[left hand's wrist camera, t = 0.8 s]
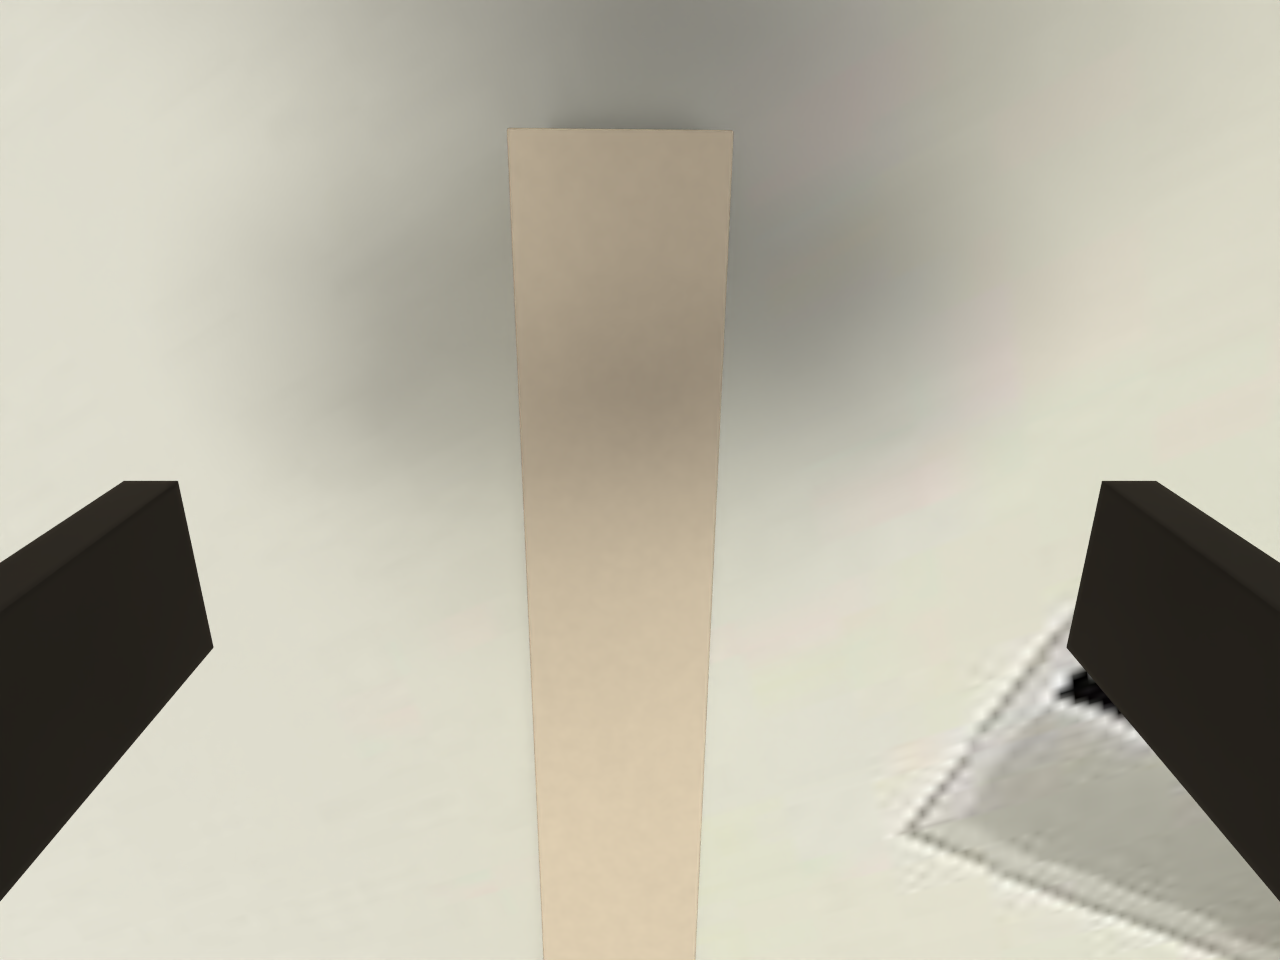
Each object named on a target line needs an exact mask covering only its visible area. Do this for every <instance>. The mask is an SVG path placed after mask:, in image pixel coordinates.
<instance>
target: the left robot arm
mask: <svg viewBox="0 0 1280 960" xmlns="http://www.w3.org/2000/svg"><path fill="white" fill-rule="evenodd" d="M212 649H213V643H212V638H211V634H210V629H209V624H208V620H207V615H206V610H205V606H204V601H203V596H202V592H201V587H200V582H199V578H198V573H197V568H196V563H195V559H194V554H193V549H192V545H191V540H190V535H189V531H188V526H187V521H186V517H185V512H184V507H183V503H182V498H181V493H180V489H179V484H178V481H123V482H122V483H120V484H119V485H117V486H116V487H114V488H113V489H111V490H110V491H108V492H107V493H105V494H103V495H102V496H100V497H99V498H97V499H96V500H94V501H93V502H91V503H90V504H88V505H87V506H85V507H84V508H82V509H81V510H79V511H78V512H76V513H75V514H73V515H72V516H70V517H69V518H67V519H66V520H64V521H63V522H61V523H60V524H58V525H57V526H55V527H54V528H52V529H51V530H49V531H48V532H46V533H45V534H43V535H41V536H40V537H38V538H37V539H35V540H34V541H32V542H31V543H29V544H28V545H26V546H25V547H23V548H22V549H20V550H19V551H17V552H16V553H14V554H13V555H11V556H10V557H8V558H7V559H5V560H4V561H2V562H1V563H0V901H1V900H2V899H3V897H4V896H5V895H6V894H7V893H8V891H9V890H10V889H11V888H12V887H13V886H14V884H15V883H16V882H17V881H18V880H19V878H20V877H21V876H22V875H23V874H24V872H25V871H26V870H27V869H28V868H29V866H30V865H31V864H32V863H33V862H34V861H35V859H36V858H37V857H38V856H39V855H40V853H41V852H42V851H43V850H44V849H45V847H46V846H47V845H48V844H49V843H50V841H51V840H52V839H53V838H54V837H55V836H56V834H57V833H58V832H59V831H60V830H61V828H62V827H63V826H64V825H65V824H66V822H67V821H68V820H69V819H70V818H71V816H72V815H73V814H74V813H75V812H76V811H77V809H78V808H79V807H80V806H81V805H82V803H83V802H84V801H85V800H86V799H87V797H88V796H89V795H90V794H91V793H92V791H93V790H94V789H95V788H96V787H97V786H98V784H99V783H100V782H101V781H102V780H103V778H104V777H105V776H106V775H107V774H108V772H109V771H110V770H111V769H112V768H113V767H114V765H115V764H116V763H117V762H118V761H119V759H120V758H121V757H122V756H123V755H124V753H125V752H126V751H127V750H128V749H129V747H130V746H131V745H132V744H133V743H134V742H135V740H136V739H137V738H138V737H139V736H140V734H141V733H142V732H143V731H144V730H145V728H146V727H147V726H148V725H149V724H150V722H151V721H152V720H153V719H154V718H155V717H156V715H157V714H158V713H159V712H160V711H161V709H162V708H163V707H164V706H165V705H166V703H167V702H168V701H169V700H170V699H171V697H172V696H173V695H174V694H175V693H176V692H177V690H178V689H179V688H180V687H181V686H182V684H183V683H184V682H185V681H186V680H187V678H188V677H189V676H190V675H191V674H192V672H193V671H194V670H195V669H196V668H197V667H198V665H199V664H200V663H201V662H202V661H203V659H204V658H205V657H206V656H207V655H208V653H209V652H210V651H211V650H212ZM1067 649H1068V650H1069V651H1070V652H1071V653H1072V655H1073V656H1074V657H1075V658H1076V659H1077V661H1078V662H1079V663H1080V664H1081V665H1082V667H1083V668H1084V669H1085V670H1086V671H1087V672H1088V674H1089V675H1090V676H1091V677H1092V678H1093V680H1094V681H1095V682H1096V683H1097V684H1098V686H1099V687H1100V688H1101V689H1102V690H1103V692H1104V693H1105V694H1106V695H1107V696H1108V697H1109V699H1110V700H1111V701H1112V702H1113V703H1114V705H1115V706H1116V707H1117V708H1118V709H1119V711H1120V712H1121V713H1122V714H1123V715H1124V717H1125V718H1126V719H1127V720H1128V721H1129V722H1130V724H1131V725H1132V726H1133V727H1134V728H1135V730H1136V731H1137V732H1138V733H1139V734H1140V736H1141V737H1142V738H1143V739H1144V740H1145V742H1146V743H1147V744H1148V745H1149V746H1150V747H1151V749H1152V750H1153V751H1154V752H1155V753H1156V755H1157V756H1158V757H1159V758H1160V759H1161V761H1162V762H1163V763H1164V764H1165V765H1166V767H1167V768H1168V769H1169V770H1170V771H1171V772H1172V774H1173V775H1174V776H1175V777H1176V778H1177V780H1178V781H1179V782H1180V783H1181V784H1182V786H1183V787H1184V788H1185V789H1186V790H1187V792H1188V793H1189V794H1190V795H1191V796H1192V797H1193V799H1194V800H1195V801H1196V802H1197V803H1198V805H1199V806H1200V807H1201V808H1202V809H1203V811H1204V812H1205V813H1206V814H1207V815H1208V816H1209V818H1210V819H1211V820H1212V821H1213V822H1214V824H1215V825H1216V826H1217V827H1218V828H1219V830H1220V831H1221V832H1222V833H1223V834H1224V836H1225V837H1226V838H1227V839H1228V840H1229V841H1230V843H1231V844H1232V845H1233V846H1234V847H1235V849H1236V850H1237V851H1238V852H1239V853H1240V855H1241V856H1242V857H1243V858H1244V859H1245V861H1246V862H1247V863H1248V864H1249V865H1250V866H1251V868H1252V869H1253V870H1254V871H1255V872H1256V874H1257V875H1258V876H1259V877H1260V878H1261V880H1262V881H1263V882H1264V883H1265V884H1266V886H1267V887H1268V888H1269V889H1270V890H1271V891H1272V893H1273V894H1274V895H1275V896H1276V897H1277V899H1278V900H1279V901H1280V563H1279V562H1278V561H1276V560H1275V559H1273V558H1272V557H1270V556H1269V555H1267V554H1266V553H1264V552H1263V551H1261V550H1260V549H1258V548H1257V547H1255V546H1254V545H1252V544H1251V543H1249V542H1248V541H1246V540H1245V539H1243V538H1242V537H1240V536H1239V535H1237V534H1235V533H1234V532H1232V531H1231V530H1229V529H1228V528H1226V527H1225V526H1223V525H1222V524H1220V523H1219V522H1217V521H1216V520H1214V519H1213V518H1211V517H1210V516H1208V515H1207V514H1205V513H1204V512H1202V511H1201V510H1199V509H1198V508H1196V507H1195V506H1193V505H1192V504H1190V503H1189V502H1187V501H1186V500H1184V499H1183V498H1181V497H1180V496H1178V495H1176V494H1175V493H1173V492H1172V491H1170V490H1169V489H1167V488H1166V487H1164V486H1163V485H1161V484H1160V483H1158V482H1157V481H1102V484H1101V489H1100V493H1099V498H1098V503H1097V507H1096V512H1095V517H1094V521H1093V526H1092V531H1091V535H1090V540H1089V545H1088V549H1087V554H1086V559H1085V563H1084V568H1083V573H1082V578H1081V582H1080V587H1079V592H1078V596H1077V601H1076V606H1075V610H1074V615H1073V620H1072V624H1071V629H1070V634H1069V638H1068V643H1067Z"/></svg>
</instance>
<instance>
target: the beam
mask: <svg viewBox="0 0 1280 960" xmlns="http://www.w3.org/2000/svg"><path fill="white" fill-rule="evenodd" d="M507 143H508V165H509V188H510V210H511V233H512V256H513V278H514V301H515V324H516V346H517V369H518V391H519V414H520V437H521V459H522V482H523V504H524V527H525V550H526V572H527V595H528V617H529V640H530V663H531V685H532V708H533V730H534V753H535V776H536V798H537V821H538V843H539V866H540V889H541V911H542V934H543V956H544V960H695V953H696V931H697V910H698V888H699V867H700V845H701V823H702V802H703V780H704V759H705V737H706V715H707V694H708V672H709V651H710V629H711V608H712V586H713V564H714V543H715V521H716V500H717V478H718V457H719V435H720V413H721V392H722V370H723V349H724V327H725V305H726V284H727V262H728V241H729V219H730V198H731V176H732V154H733V131H732V130H663V129H566V128H508V129H507Z"/></svg>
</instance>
